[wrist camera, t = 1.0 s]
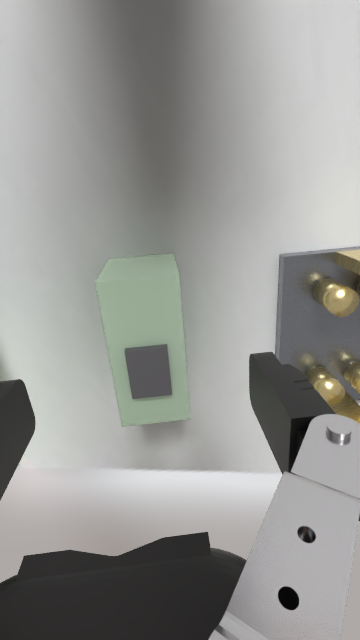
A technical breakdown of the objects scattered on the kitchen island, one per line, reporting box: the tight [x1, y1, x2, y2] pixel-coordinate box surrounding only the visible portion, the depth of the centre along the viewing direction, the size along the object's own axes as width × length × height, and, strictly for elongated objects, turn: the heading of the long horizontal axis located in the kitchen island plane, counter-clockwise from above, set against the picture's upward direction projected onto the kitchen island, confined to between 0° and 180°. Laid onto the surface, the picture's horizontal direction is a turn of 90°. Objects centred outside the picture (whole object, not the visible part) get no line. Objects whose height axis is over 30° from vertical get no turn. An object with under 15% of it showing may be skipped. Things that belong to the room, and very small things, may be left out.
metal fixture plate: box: [275, 247, 360, 424], centre depth 28 cm, size 16×12×7 cm
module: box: [95, 253, 191, 427], centre depth 26 cm, size 12×6×8 cm, turn 4°
